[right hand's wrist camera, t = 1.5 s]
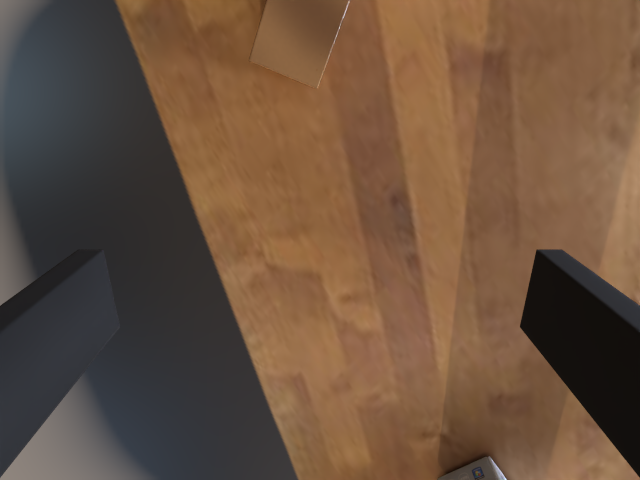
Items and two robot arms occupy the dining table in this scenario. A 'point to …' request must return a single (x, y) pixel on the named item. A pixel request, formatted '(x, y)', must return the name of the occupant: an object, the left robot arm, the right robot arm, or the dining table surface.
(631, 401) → the right robot arm
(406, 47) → the dining table surface
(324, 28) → the post
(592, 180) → the dining table surface
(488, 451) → the dining table surface
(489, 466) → the hard drive box
